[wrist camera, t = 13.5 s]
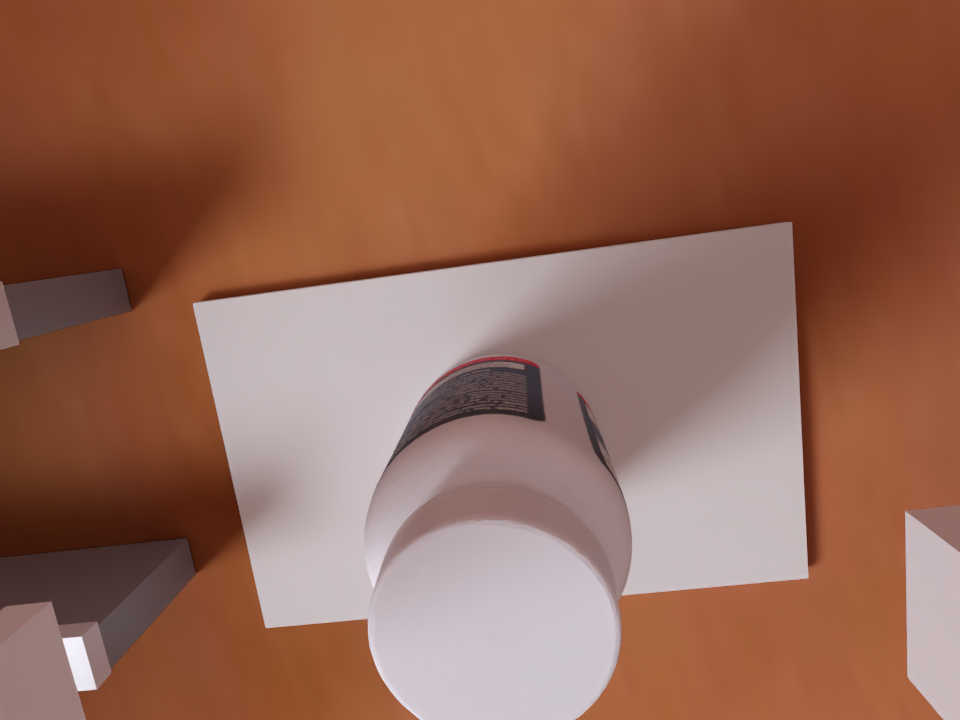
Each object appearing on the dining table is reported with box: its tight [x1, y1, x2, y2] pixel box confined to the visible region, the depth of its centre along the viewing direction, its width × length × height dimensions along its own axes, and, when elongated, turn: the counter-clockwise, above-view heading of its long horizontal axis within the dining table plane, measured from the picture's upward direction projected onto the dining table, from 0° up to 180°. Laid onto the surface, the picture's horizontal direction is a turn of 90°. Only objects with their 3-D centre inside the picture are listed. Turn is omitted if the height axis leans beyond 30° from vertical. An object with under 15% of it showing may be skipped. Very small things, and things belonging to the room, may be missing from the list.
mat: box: [193, 222, 808, 628], centre depth 19 cm, size 16×10×1 cm, turn 98°
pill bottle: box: [364, 354, 632, 720], centre depth 15 cm, size 5×5×9 cm
